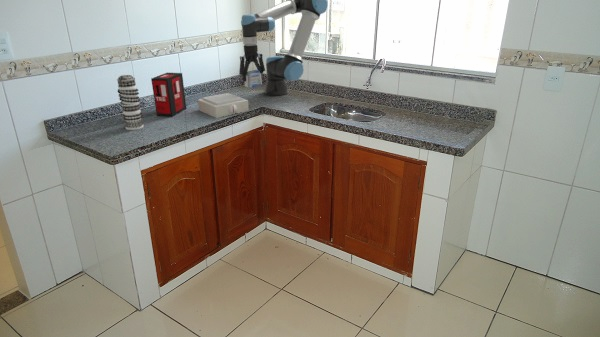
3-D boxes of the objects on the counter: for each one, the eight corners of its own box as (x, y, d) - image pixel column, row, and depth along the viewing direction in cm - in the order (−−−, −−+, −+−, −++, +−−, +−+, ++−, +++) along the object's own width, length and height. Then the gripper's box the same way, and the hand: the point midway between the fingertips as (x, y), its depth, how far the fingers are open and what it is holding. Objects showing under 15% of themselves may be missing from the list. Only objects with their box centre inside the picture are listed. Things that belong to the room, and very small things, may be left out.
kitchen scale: (230, 104, 236) (229, 91, 233) (249, 111, 221) (248, 98, 218) (198, 110, 224) (197, 97, 221) (217, 118, 210) (216, 105, 207)
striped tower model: (123, 131, 192) (113, 78, 182) (125, 125, 200) (115, 74, 190) (143, 129, 194) (134, 77, 184) (145, 123, 202) (136, 73, 192)
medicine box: (251, 88, 227) (250, 72, 223) (245, 87, 229) (244, 71, 225) (261, 85, 232) (259, 70, 229) (255, 84, 235) (254, 69, 231)
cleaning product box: (172, 107, 229) (167, 72, 221) (186, 108, 228) (182, 73, 219) (157, 116, 214) (151, 78, 206) (172, 117, 213) (167, 79, 205)
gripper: (237, 47, 212) (241, 89, 222) (270, 43, 224) (272, 83, 234) (230, 46, 217) (234, 87, 227) (262, 42, 230) (264, 81, 239)
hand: (253, 85), depth 230 cm, fingers closed on medicine box, 8 cm apart
